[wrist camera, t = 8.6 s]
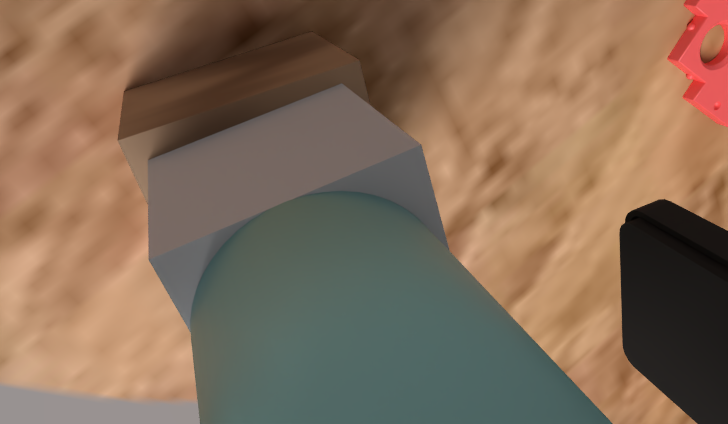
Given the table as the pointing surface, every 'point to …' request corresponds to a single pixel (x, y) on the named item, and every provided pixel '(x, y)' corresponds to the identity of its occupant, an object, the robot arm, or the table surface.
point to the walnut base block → (229, 96)
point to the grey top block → (276, 179)
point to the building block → (710, 80)
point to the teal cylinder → (362, 328)
